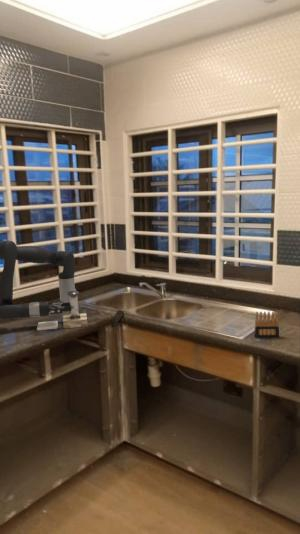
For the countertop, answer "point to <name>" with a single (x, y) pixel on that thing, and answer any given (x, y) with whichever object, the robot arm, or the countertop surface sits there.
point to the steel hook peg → (74, 304)
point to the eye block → (75, 321)
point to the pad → (47, 325)
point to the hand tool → (116, 318)
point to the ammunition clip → (266, 326)
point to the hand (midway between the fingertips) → (71, 306)
